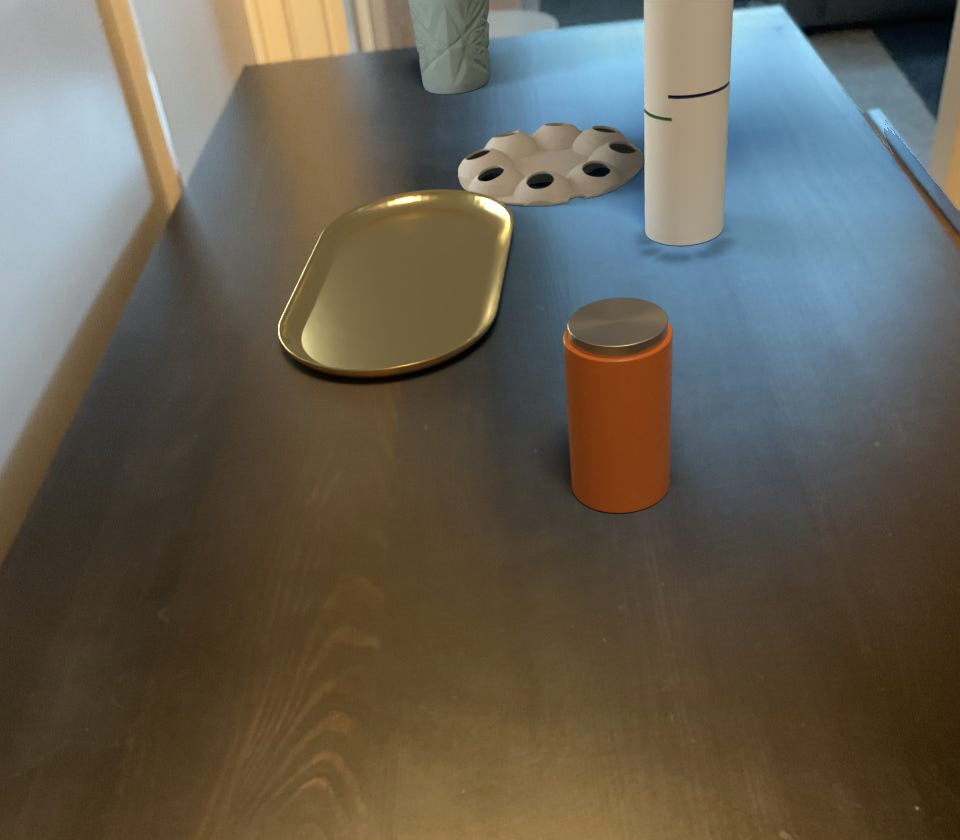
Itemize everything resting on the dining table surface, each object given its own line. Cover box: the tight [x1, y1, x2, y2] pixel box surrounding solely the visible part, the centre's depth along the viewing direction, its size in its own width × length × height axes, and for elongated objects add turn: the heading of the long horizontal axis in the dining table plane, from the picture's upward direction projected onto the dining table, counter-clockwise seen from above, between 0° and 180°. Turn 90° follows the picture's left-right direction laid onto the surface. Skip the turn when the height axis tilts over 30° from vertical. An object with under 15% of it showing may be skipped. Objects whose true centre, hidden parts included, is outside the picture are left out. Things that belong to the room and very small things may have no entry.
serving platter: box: [277, 188, 515, 379], centre depth 97 cm, size 19×35×2 cm, turn 174°
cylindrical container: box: [643, 0, 735, 247], centre depth 92 cm, size 7×7×25 cm
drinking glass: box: [407, 0, 490, 95], centre depth 133 cm, size 10×10×12 cm
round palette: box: [457, 122, 645, 207], centre depth 114 cm, size 20×20×2 cm
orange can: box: [563, 297, 674, 514], centre depth 69 cm, size 7×7×12 cm
